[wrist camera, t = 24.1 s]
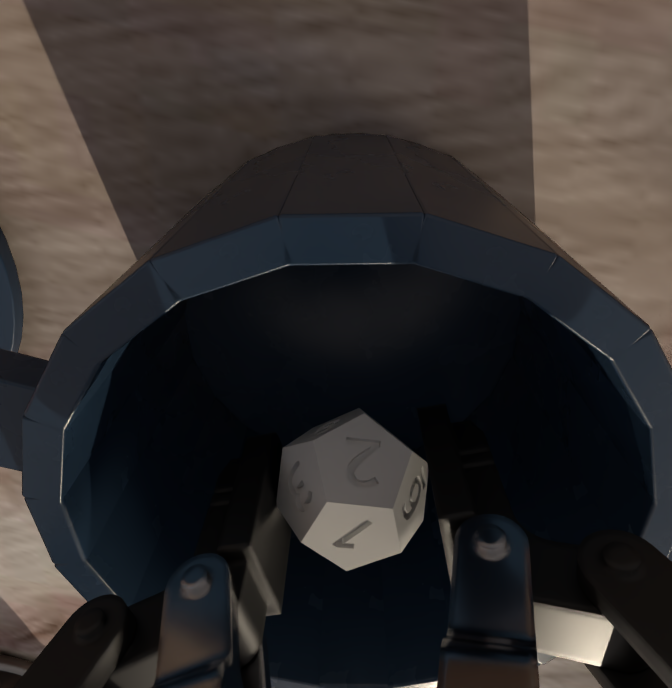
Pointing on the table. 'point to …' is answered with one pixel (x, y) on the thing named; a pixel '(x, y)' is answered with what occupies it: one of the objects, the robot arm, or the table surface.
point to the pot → (339, 389)
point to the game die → (352, 490)
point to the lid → (9, 300)
